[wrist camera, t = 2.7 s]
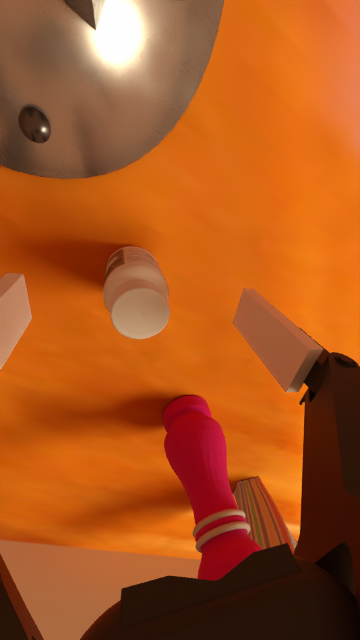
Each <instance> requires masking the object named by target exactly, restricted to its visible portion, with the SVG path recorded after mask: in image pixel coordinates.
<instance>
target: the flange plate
mask: <svg viewBox="0 0 360 640" xmlns="http://www.w3.org/2000/svg"><path fill="white" fill-rule="evenodd" d="M223 4H224V0H0V165H2V166H5V167H7V168H10V169H13V170H16V171H19V172H24V173H28V174H32V175H37V176H41V177H50V178H61V179H74V178H89V177H94V176H99V175H104V174H108V173H110V172H113V171H116V170H118V169H121V168H124V167H126V166H127V165H129V164H131V163H133V162H134V161H136V160H138V159H140V158H141V157H142V156H144V155H145V154H146V153H148V152H149V151H150V150H151V149H153V148H154V147H155V146H156V145H158V144H159V143H160V141H161V140H162V139H163V138H164V137H165V136H166V135H167V134H168V133H169V132H170V131H171V130H172V129H173V127H174V126H175V124H176V123H177V122H178V120H179V119H180V118H181V116H182V115H183V113H184V112H185V111H186V109H187V107H188V105H189V103H190V102H191V100H192V98H193V96H194V94H195V92H196V90H197V89H198V87H199V84H200V82H201V79H202V77H203V74H204V72H205V70H206V67H207V65H208V62H209V59H210V56H211V53H212V49H213V46H214V42H215V39H216V36H217V32H218V28H219V23H220V18H221V14H222V9H223Z"/></svg>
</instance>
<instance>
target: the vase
mask: <svg viewBox="0 0 360 640" xmlns="http://www.w3.org/2000/svg"><path fill="white" fill-rule="evenodd" d="M234 496H235V498H236V502H237V505H238V508H239V509H240V510H242V511H243V512H244V513H245V519H246V522H247V523H248V524H249V526H250V532H249V534H248V535H249V537H250V538H251V539H252V540H253V541H255V542H256V543H257V544H258V545H260V546H261V547H262V548H263V549H267V548H270V547H274V546H278V545H281V544H285V543H288V545H289V547H290V549H291V551H292V553H293V554H294V550H295V548H296V545H297V541H296V539H295V538H294V537H293V536H292V534H291V533H290V531H289V530H288V528H287V526H286V524H285V522H284V520H283V518H282V516H281V514H280V512H279V510H278V508H277V506H276V504H275V502H274V501H273V499H272V497H271V496H270V494H269V493H268V491H267V489H266V488H265V486H264V485H263V483H262V481H261V479H260V477H255V478H252V479H249V480H244V481H240V482H237V485H236V489H235V491H234Z"/></svg>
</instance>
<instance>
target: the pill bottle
mask: <svg viewBox="0 0 360 640" xmlns="http://www.w3.org/2000/svg"><path fill="white" fill-rule="evenodd" d="M103 297H104V302H105V305H106V307H107V309H108V311H109V312H110V313H111V320H112V323H113V325H114V327H115V328H116V330H117V331H118V332H120V333H121V334H122V335H124V336H126V337H129V338H133V339H145V338H149V337H152V336H154V335H156V334H158V333H159V332H160V331H161V330H162V329H163V328H164V327H165V326H166V324H167V322H168V320H169V316H170V308H169V304H168V299H169V289H168V285H167V282H166V280H165V278H164V276H163V274H162V272H161V270H160V268H159V266H158V263H157V261H156V260H155V258H154V257H153V256H152V255H151V254H150V253H149V252H148V251H147V250H145V249H143V248H140V247H136V246H127V247H123V248H120V249H118V250H117V251H115V252H114V253H113V254H112V255H111V256H110V258H109V259H108V262H107V265H106V272H105V282H104V289H103Z"/></svg>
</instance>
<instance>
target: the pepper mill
mask: <svg viewBox="0 0 360 640" xmlns="http://www.w3.org/2000/svg"><path fill="white" fill-rule="evenodd" d="M163 422H164V426H165V430H166V432H167V435H166V437H165V441H164V448H165V452H166V456H167V459H168V461H169V463H170V465H171V467H172V469H173V470H174V472H175V473H176V475H177V476H178V478H179V479H180V481H181V483H182V484H183V486H184V488H185V490H186V492H187V494H188V496H189V499H190V502H191V505H192V509H193V512H194V518H195V524H196V526H195V528H194V530H193V536H194V537H195V540H196V542H197V543H196V549H197V551H199V552H201V553H202V559H201V563H200V567H199V571H198V579H204V580H218V579H220V578H222V577H223V576H224V575H225V574H227V573H228V572H229V571H230V570H232V569H233V568H234V567H235V566H237V565H238V564H239V563H240V562H242V561H243V560H244V559H245V558H246V557H248V556H249V555H250V554H251V553H253V552H256V551H259V550H263V548H262V547H261V546H260V545H258V544H257V543H256V542H255V541H253V540H252V539H251V538H250V537H249V535H248V534H249V532H250V526H249V524H248V523H247V522H246V519H245V513H244V512H243V511H242V510H240V509H238V507H237V505H236V503H235V500H234V498H233V495H232V492H231V488H230V485H229V481H228V474H227V455H226V442H225V437H224V434H223V431H222V428H221V426H220V424H219V423H218V422H217V421H216V420H214V419H213V418H211V412H210V409H209V407H208V404H207V402H206V401H205V400H204V399H203V398H201V397H199V396H194V395H189V396H183V397H180V398H178V399H176V400H174V401H172V402H171V403H170V404H169V405H168V406H167V407H166V408H165V410H164V412H163Z"/></svg>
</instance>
